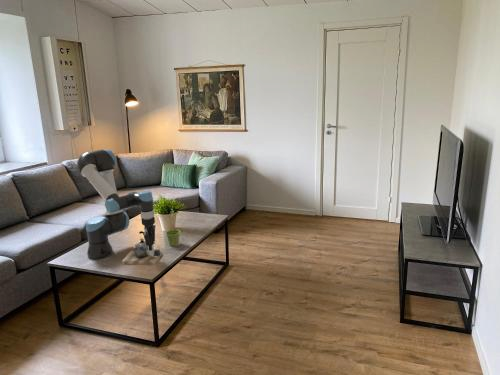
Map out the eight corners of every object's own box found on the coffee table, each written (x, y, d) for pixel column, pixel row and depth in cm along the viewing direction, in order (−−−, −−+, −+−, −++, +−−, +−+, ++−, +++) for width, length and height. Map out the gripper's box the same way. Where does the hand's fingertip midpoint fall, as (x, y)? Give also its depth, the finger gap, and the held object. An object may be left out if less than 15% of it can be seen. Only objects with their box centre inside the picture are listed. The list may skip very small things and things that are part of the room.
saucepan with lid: (132, 257, 228) (131, 246, 226) (140, 251, 235) (139, 241, 233) (155, 260, 223) (154, 248, 221) (162, 254, 230) (161, 243, 228)
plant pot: (182, 246, 247) (180, 233, 245) (167, 248, 244) (166, 235, 242) (180, 240, 256) (179, 228, 253) (166, 242, 253) (165, 230, 251)
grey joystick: (148, 227, 248) (133, 229, 246) (149, 232, 239) (132, 234, 236) (150, 244, 252) (135, 246, 249) (151, 250, 242) (135, 252, 240)
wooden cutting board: (122, 263, 225) (122, 260, 224) (131, 253, 238) (130, 250, 238) (156, 263, 223) (155, 260, 223) (162, 253, 237) (162, 250, 236)
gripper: (149, 221, 212) (153, 259, 218) (158, 213, 225) (162, 250, 231) (136, 220, 214) (141, 259, 220) (146, 213, 226) (150, 250, 232)
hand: (151, 254), depth 225 cm, fingers closed
